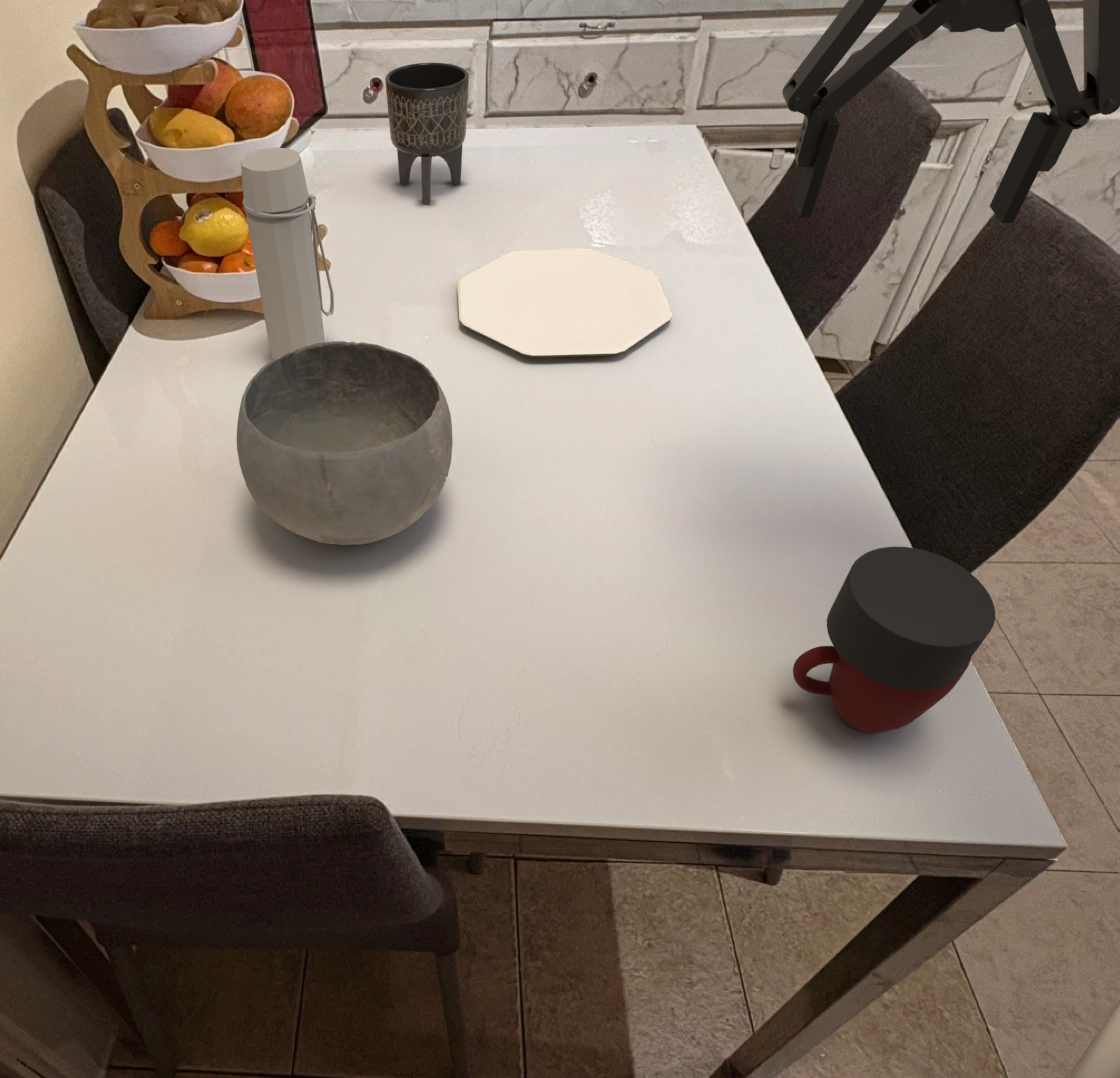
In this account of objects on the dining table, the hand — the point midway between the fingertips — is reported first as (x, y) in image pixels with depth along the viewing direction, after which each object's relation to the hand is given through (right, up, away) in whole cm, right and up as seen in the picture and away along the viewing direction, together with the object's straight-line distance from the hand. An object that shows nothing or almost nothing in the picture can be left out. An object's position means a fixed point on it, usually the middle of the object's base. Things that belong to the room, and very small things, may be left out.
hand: (899, 212), depth 62 cm
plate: (-15, +7, +52) cm, 55 cm away
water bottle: (-49, -1, +46) cm, 67 cm away
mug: (-1, -38, +6) cm, 39 cm away
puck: (-1, -31, -1) cm, 31 cm away
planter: (-32, +35, +81) cm, 94 cm away
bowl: (-42, -21, +26) cm, 53 cm away
